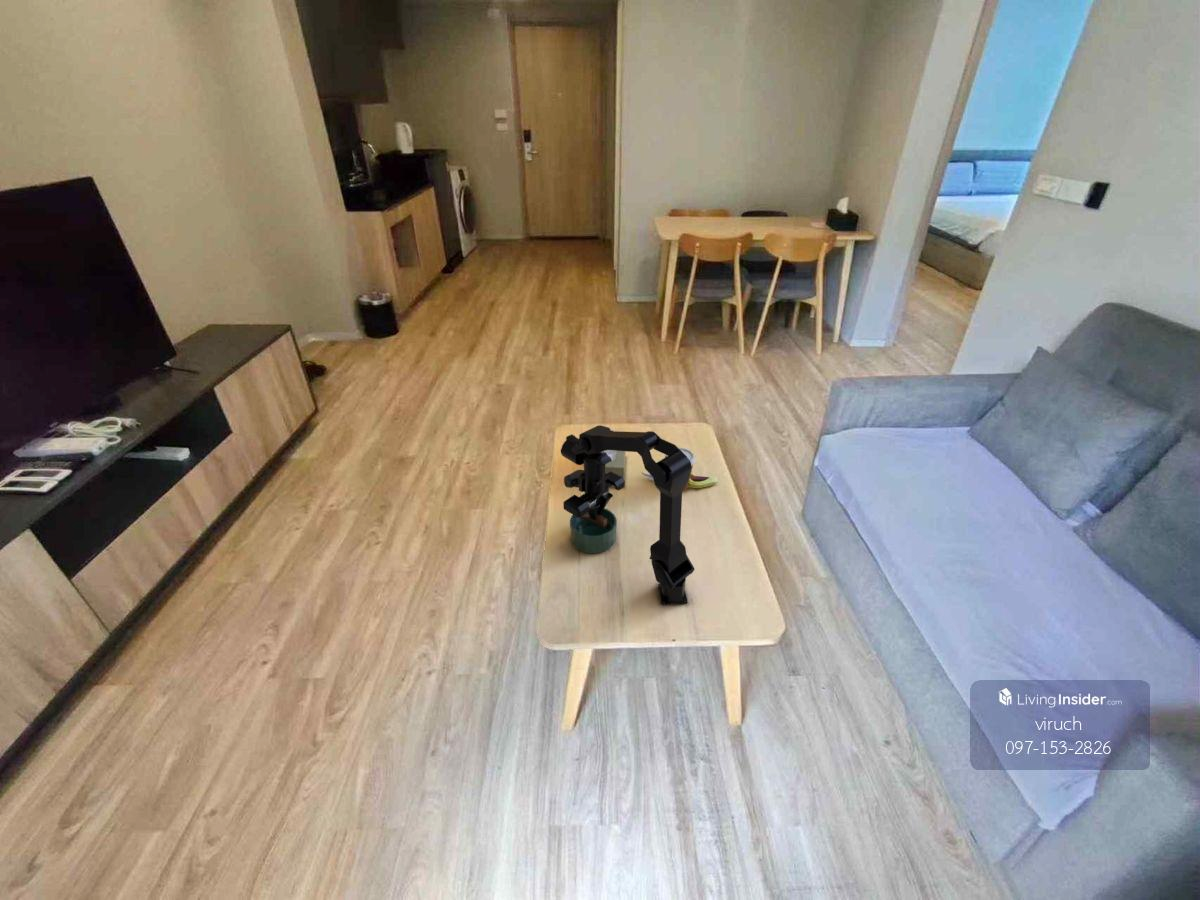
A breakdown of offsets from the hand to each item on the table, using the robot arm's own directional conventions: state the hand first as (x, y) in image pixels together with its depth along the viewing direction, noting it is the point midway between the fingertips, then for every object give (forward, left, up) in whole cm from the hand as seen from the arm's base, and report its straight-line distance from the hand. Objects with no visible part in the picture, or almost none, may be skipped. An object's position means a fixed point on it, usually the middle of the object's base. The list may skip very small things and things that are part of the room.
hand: (595, 517), depth 148 cm
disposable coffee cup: (+24, -28, -2) cm, 37 cm away
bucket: (+1, +1, -8) cm, 8 cm away
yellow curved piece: (+27, -28, -8) cm, 40 cm away
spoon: (0, 0, -1) cm, 1 cm away
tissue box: (+34, -6, -8) cm, 35 cm away
